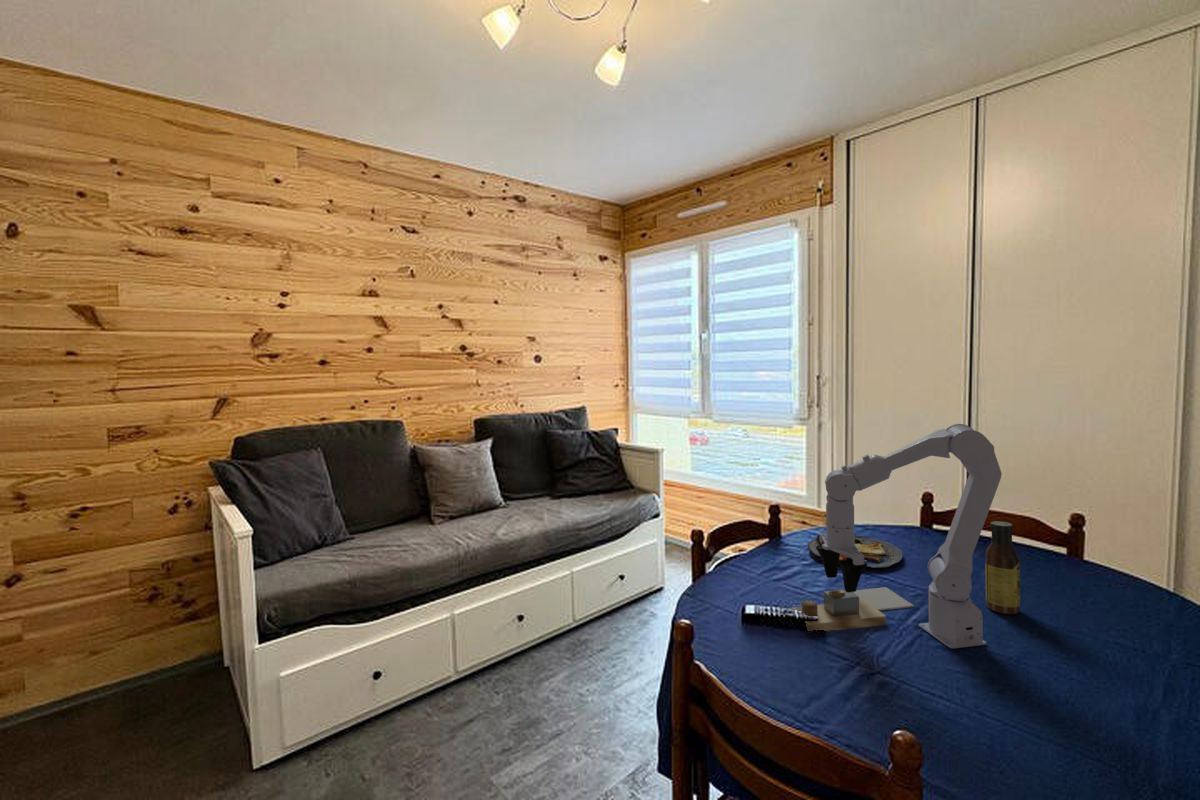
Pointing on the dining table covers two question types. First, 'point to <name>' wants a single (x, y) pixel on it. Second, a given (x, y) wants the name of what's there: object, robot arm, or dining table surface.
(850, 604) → the grey block
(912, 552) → the dining table surface
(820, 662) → the dining table surface
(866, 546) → the food plate
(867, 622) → the body
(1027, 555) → the dining table surface
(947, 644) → the robot arm
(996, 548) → the sauce bottle
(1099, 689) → the dining table surface
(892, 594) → the rubber mat
